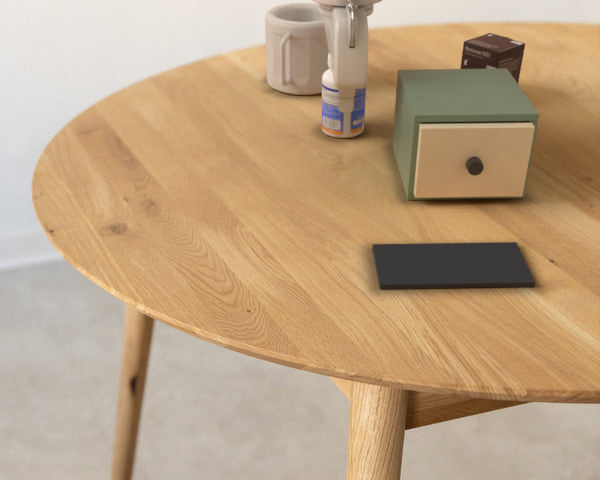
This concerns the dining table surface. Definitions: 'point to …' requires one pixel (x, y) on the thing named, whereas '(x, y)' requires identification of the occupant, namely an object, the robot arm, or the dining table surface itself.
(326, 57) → the mug
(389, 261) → the mat
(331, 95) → the pill bottle
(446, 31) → the dining table surface
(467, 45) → the box
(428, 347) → the dining table surface
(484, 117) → the cabinet
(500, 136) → the drawer
